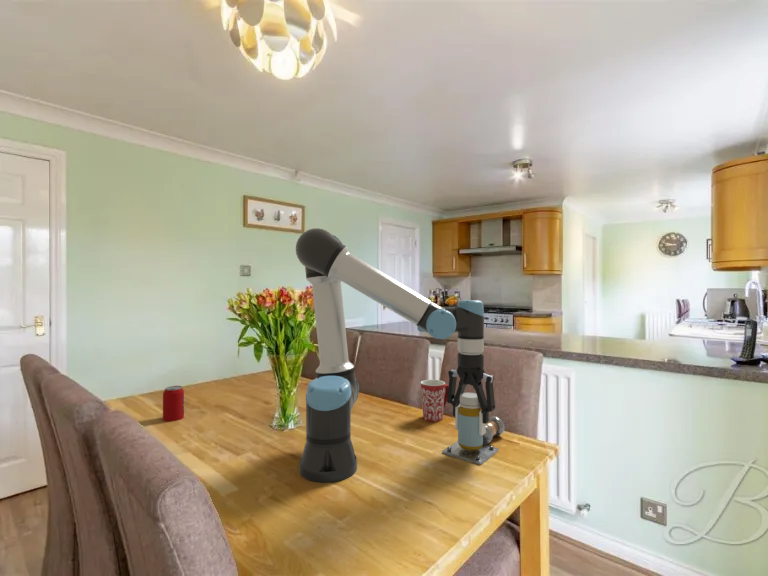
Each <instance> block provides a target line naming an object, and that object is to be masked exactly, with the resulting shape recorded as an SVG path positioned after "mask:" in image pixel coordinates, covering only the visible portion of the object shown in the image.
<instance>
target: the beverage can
mask: <svg viewBox="0 0 768 576" xmlns="http://www.w3.org/2000/svg"><path fill="white" fill-rule="evenodd" d="M184 417H185V391H184V389H183V387H182V385H173V386H172V385H169V386H166V387H165V388H164V391H163V393H162V421H163V422H166V423H167V422H176V421H180V420H182V419H184Z"/></svg>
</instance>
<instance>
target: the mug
mask: <svg viewBox="0 0 768 576" xmlns="http://www.w3.org/2000/svg"><path fill="white" fill-rule="evenodd" d="M420 386H421V387H420V388H421V405H422V406H421V408H422V419H423V418H424V419H423V420H425V421H427V420H428V422H434V421H435V422H440V420H441V421H443V419H444V408H445V406H446V404H447V403H448V402H447V396H448V387H449V384H446V381H443V380H441V379H440V380H438V379H426V380H421V381H420Z"/></svg>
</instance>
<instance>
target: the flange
mask: <svg viewBox="0 0 768 576" xmlns="http://www.w3.org/2000/svg"><path fill="white" fill-rule="evenodd" d="M505 428H506V427H505V423H504V421H503V420H502V419H501V418H500V417H499V416H496V415H493V416H490V417H489V421H488V423H487V424H486V433H485V434H483V445H482V447H481V448H480V449H479V450H466V449H463V448H461V447H460V446H459V444H458V440H457V441H455V442H454V443H452V444H451V445H449V446H447V447H446V448H445V449H442V451H441V453H442V454H444V455H447V456H450V457H453V458H457V459H460V460H463V461H467V462H469V463H473V464H476V465H478V466H481V465H483V464H484V463H485V462H487V461H488V460H489V459H490V458H492V457H493V456H494V455H496V454H497V453H498V452H499V448H497V447H495V446H494V445H492V444H490V445H488V444H489V443H491V442H492V441H493V439H494V436H496V438H497V437H499V436H501V435H502V434H504V431H505Z"/></svg>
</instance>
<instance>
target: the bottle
mask: <svg viewBox="0 0 768 576" xmlns="http://www.w3.org/2000/svg"><path fill="white" fill-rule="evenodd" d="M459 405H460V407H459V410H458V430H457V441H458V444H459V446H460V447H461V448H463V449H466V450H479V449H480V448H481V447H482V445H483V435H482V436H481V435H479V412H481V411H482V410H481V407H480V403H479V400H478V397H477V394H476V392H464V393H462V394H460V404H459Z"/></svg>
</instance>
